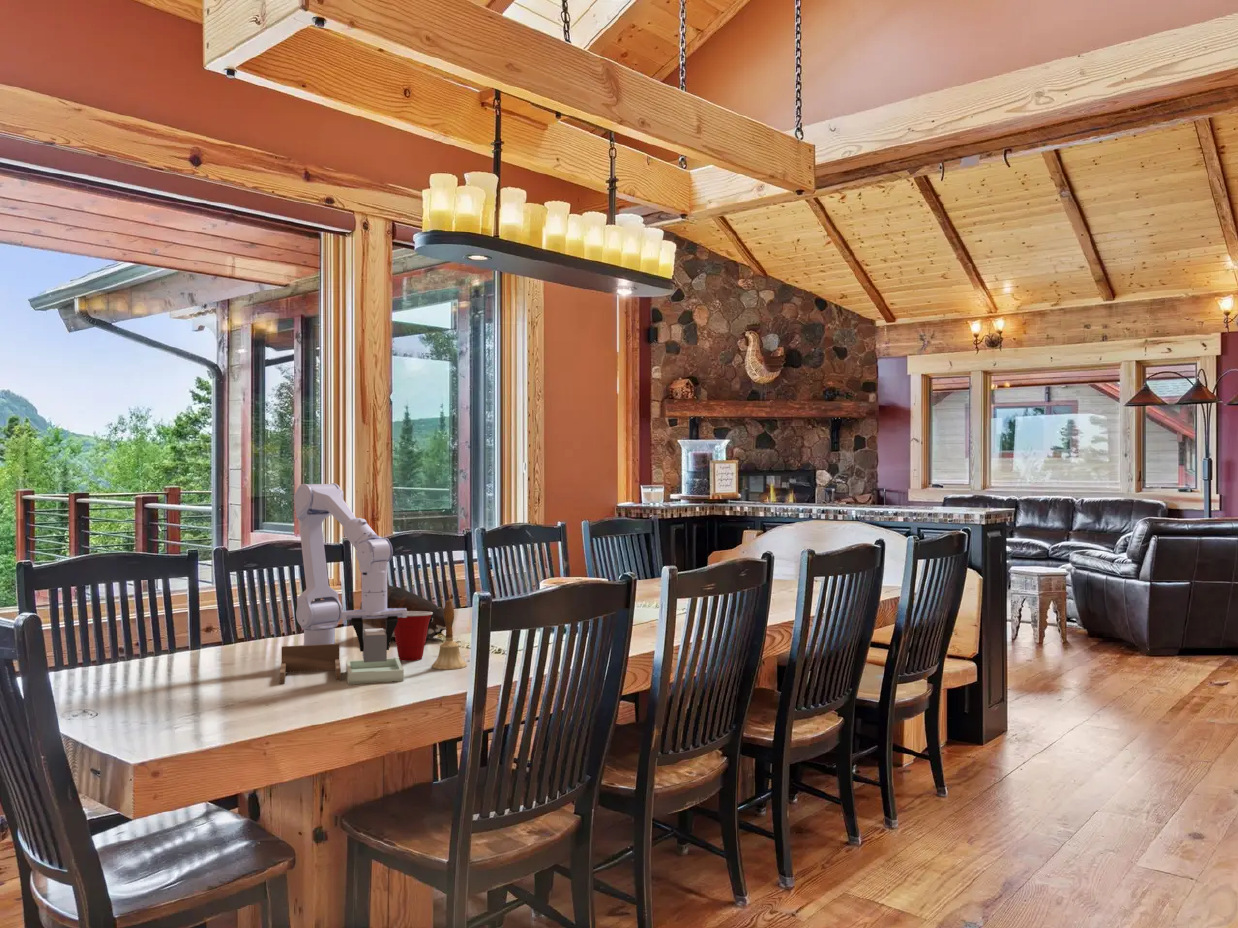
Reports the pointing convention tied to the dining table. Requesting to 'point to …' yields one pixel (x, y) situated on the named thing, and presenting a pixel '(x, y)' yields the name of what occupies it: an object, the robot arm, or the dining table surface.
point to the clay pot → (412, 603)
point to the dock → (310, 659)
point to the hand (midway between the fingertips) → (374, 649)
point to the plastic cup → (412, 635)
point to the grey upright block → (374, 645)
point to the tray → (374, 671)
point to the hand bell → (449, 645)
